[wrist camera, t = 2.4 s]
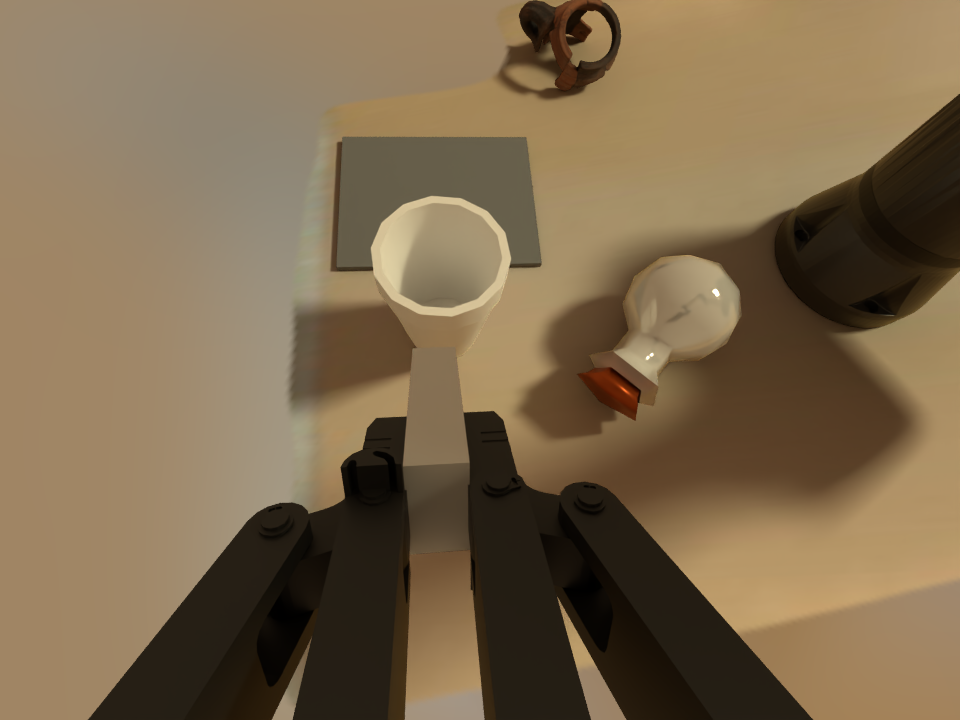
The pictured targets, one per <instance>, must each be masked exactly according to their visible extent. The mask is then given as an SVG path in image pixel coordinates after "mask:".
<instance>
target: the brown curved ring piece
mask: <svg viewBox="0 0 960 720" xmlns="http://www.w3.org/2000/svg"><path fill="white" fill-rule="evenodd" d="M595 10H596V11H598V12H600V13H601V14H602V15H603V16H604V17H605V19H606V21H607V22H608V23H609V25H610V28H611V32H612V43H611V47H610V50H609V52H608V53H607V55H606V56H605V57H604V58H602V59H601V60H599V61H596V62H585V61H580V63H579V66H578V67H576V66H575V65H573V64H572V63H571V62H570V58H571V57H572V52H571V50H570V48H569V46H568V44H567V41H566V35H565V34H569V35H572V36H574V37H576V38H578V39H579V40H580V41H582V42H584V41H585V39H586V38H587V36H588V35H589V34H590V33H591V32H592V28H591V27H590V26H588V25H587V24H586V23H585V22H584V21H583V20H582V19H581V17H582V16H583V15H584V14H585V13H586V12H587V11H595ZM519 18H520V23H521V27H522V29H523V31H524V32H525V34H526V35H527V36H528V37H529V38H530V39H531V41H532V43H533V46H534V49H535V52H539V49H540V46H541V43H542V40H543V44H544V45H545V44H546V43H547V42H548V41H549V40H551V45H552V49H553V52H554V55H555V58H556V61H557V63H558V65H559V66H560V68H561V70H563V71H562V73H561V75H560V77H559V78H557V79H556V80H555V86H557V87H558V88H559V89H561V90H563V91H566V90H570V89H571V87H572V86H573V87H575V88H578V87H581V86H585V85H588V84H590V83H593V82H595V81H597V80H598V79H600V78H602V77H603V76H604V75H605V71H606V70H609V69H610V68H611V66H612V64H613V62H614V60H615V57H616V55H617V53H618V49H619V46H620V41H621V29H620V23H619V20H618V17H617V15H616V14H615V12H614V11H613V10H612V8H611V7H610V6H609V5H607V4H606V3H603V2H602V1H601V0H571V1H567V2H565V3H564V4H562V5H560V6H558V7H556V8H555V7H552V6H550V5H548V4H547V3H545V2H542V1H537V0H534V1H529V2H527V3H526V4H525V5H524V6H523V8H522V9H521V11H520V13H519Z"/></svg>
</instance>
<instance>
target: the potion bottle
mask: <svg viewBox="0 0 960 720" xmlns="http://www.w3.org/2000/svg"><path fill="white" fill-rule="evenodd" d="M622 306H623V310H624V314H625V318H626V322H627V326H628V330H629V331H628V332H627V333H626V334H625V336H624V337H623V338H622V339H621V340H620V342H619V343H618V344H617V345H616V346H615V348H614V349H613V350H609V351H604V352H599V353H594V354H590V355H589V356H590V358H591V360H592V363H593V365H594V367H595V368H594V369H592V370H590V371H589V372H586V373H580V374H578V376H579V377H580V378H581V379H582V380H583V382H584V383H585V384H586V385H587V387H588V388H589V389H590V390H591V391H592V393H593V394H594V395H595V396H596V398H597V399H598V400H599V401H600V402H602V403H604V404H605V405H607V406H609V407H611V408H613V409H615V410H616V411H618V412H620V413H622V414H624V415H626V416H627V417H629V418H631V419H633V420H635V421H636V414H637V407H638V403H640V404H646V405H652V406H654V403H655V399H656V394H657V390H658V379H657V377H658V376H659V374H660V373H661V372H662V371H663V369H664V368H665V367H666V365H667V364H668V363H669V362H676V361H699V360H701V359H702V358H704V357H706V356H707V355H709V354H711V353H712V352H714V351H716V350H717V349H719V348H721V347H722V346H724V345H726V344H727V342H728V340H729V338H730V336H731V334H732V332H733V331H734V329H735V327H736V325H737V323H738V321H739V319H740V317H741V315H742V314H741V303H740V291H739V289H738V288H737V286H736V285H735V283H734V282H733V281H732V279H731V278H730V276H729V275H728V274H727V272H726V271H725V269H724V268H723V267H722V265H721V264H720V263H717V262H713V261H710V260H706V259H703V258H699V257H695V256H692V255H681V256H669V257H660V258H659V259H657V260H656V261H655V262H653V263H652V264H650V265H649V266H648V267H646V268H645V269H644V270H642V271H641V272H639V273H638V274H637V275H635V276H634V278H633V280H632V283H631V285H630V287H629V289H628V292H627V294H626V296H625V298H624V301H623V303H622Z"/></svg>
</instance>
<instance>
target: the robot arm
mask: <svg viewBox="0 0 960 720" xmlns="http://www.w3.org/2000/svg"><path fill="white" fill-rule="evenodd" d="M775 252H776V258H777V262H778V265H779V268H780V270H781V273H782V275H783V277H784V278H785V280H786V282H787V283H788V285H789V286H790V287H791V289H792V290H793V291H794V292H795V294H796V295H797V296H798V297H799V298H800V299H801V300H802V301H803V302H805V303H806V304H807V305H808V306H809V307H811V308H812V309H813V310H815V311H816V312H818V313H820V314H821V315H823V316H825V317H827V318H829V319H831V320H833V321H836V322H838V323H841V324H844V325H848V326H853V327H860V328H874V327H881V326H885V325H888V324H890V323H892V322H895V321H897V320H899V319H901V318H904V317H906V316H908V315H910V314H912V313H914V312H915V311H917V310H918V309H920V308H921V307H922V306H923V305H924V304H925V303H926V302H928V301H929V300H930V299H931V298H932V297H933V296H934V295H935V294H936V293H937V292H938V291H939V290H940V289H941V288H942V287H943V286H944V285H945V284H946V283H947V282H949V281H950V280H951V279H952V278H953V277H954V276H955V275H956V274H957V273H958V272H959V271H960V94H959V95H958V96H956V97H955V98H954V99H953V100H952V101H950V102H949V103H948V104H947V105H946V106H944V107H943V108H942V109H941V110H940V111H938V112H937V113H936V114H935V115H933V116H932V117H931V118H930V119H929V120H927V121H926V122H925V123H924V124H923V125H921V126H920V127H919V128H918V129H917V130H915V131H914V132H913V133H912V134H910V135H909V136H908V137H907V138H906V139H904V140H903V141H902V142H901V143H900V144H898V145H897V146H896V147H895V148H894V149H892V150H891V151H890V152H889V153H888V154H886V155H885V156H884V157H883V158H881V160H879V161H878V162H877V163H876V164H875V165H873V166H872V167H871V168H870V169H868V170H867V171H866V172H865V173H863V174H861V175H858V176H856V177H854V178H852V179H850V180H847V181H845V182H843V183H841V184H838V185H836V186H834V187H832V188H830V189H827V190H825V191H823V192H821V193H819V194H816V195H814V196H812V197H810V198H809V199H807V200H806V201H804V202H803V203H802V204H800V205H799V206H798V207H797V208H796V209H795V210H794V211H793V212H792V213H790V214H789V215H788V216H787V217H786V218H785V219H784V221H783V222H782V224H781V225H780V227H779V229H778V232H777V235H776V241H775ZM341 473H342V479H343V486H344V492H345V499H344V500H343V501H341V502H339V503H338V504H336V505H334V506H332V507H329V508H327V509H324V510H320V511H317V512H314V513H310V514H308V511H307V510H306V509H305V508H304V507H303V506H302V505H299V504H295V503H279V504H275V505H272V506H269V507H266V508H265V509H263V510H261V511H259V512H257V513H256V514H255V515H254V516H253V517H252V518H251V519H249V520H248V521H247V522H246V524H245V525H244V526H243V528H242V529H241V530H240V531H239V532H238V534H237V535H236V536H235V537H234V539H233V540H232V541H231V542H230V544H229V545H228V546H227V547H226V549H225V550H224V551H223V552H222V554H221V555H220V556H219V557H218V559H217V560H216V561H215V562H214V564H213V565H212V566H211V567H210V569H209V570H208V571H207V572H206V574H205V575H204V576H203V577H202V579H201V580H200V581H199V582H198V584H197V585H196V586H195V587H194V588H193V590H192V591H191V592H190V594H189V595H188V596H187V597H186V598H185V600H184V601H183V602H182V603H181V605H180V606H179V607H178V608H177V610H176V611H175V612H174V613H173V615H172V616H171V617H170V618H169V620H168V621H167V622H166V623H165V625H164V626H163V627H162V628H161V630H160V631H159V632H158V634H157V635H156V636H155V637H154V638H153V640H152V641H151V642H150V643H149V645H148V646H147V647H146V648H145V650H144V651H143V652H142V653H141V655H140V656H139V657H138V658H137V660H136V661H135V662H134V663H133V665H132V666H131V667H130V668H129V669H128V671H127V672H126V673H125V674H124V676H123V677H122V678H121V679H120V681H119V682H118V683H117V684H116V686H115V687H114V688H113V689H112V691H111V692H110V693H109V694H108V696H107V697H106V698H105V699H104V701H103V702H102V703H101V705H100V706H99V707H98V708H97V709H96V711H95V712H94V713H93V714H92V716H91V717H90V718H89V719H88V720H272V718H273V716H274V714H275V711H276V709H277V707H278V705H279V703H280V701H281V699H282V697H283V695H284V693H285V691H286V689H287V687H288V685H289V683H290V681H291V678H292V676H293V674H294V672H295V670H296V668H297V666H298V664H299V662H300V660H301V658H302V656H303V654H304V652H305V650H306V648H307V645H308V643H309V641H310V639H311V637H312V640H311V644H310V648H309V652H308V657H307V661H306V665H305V669H304V674H303V678H302V682H301V686H300V691H299V695H298V699H297V703H296V708H295V712H294V716H293V720H404V719H405V697H406V672H407V648H408V624H409V600H410V575H411V572H410V561H409V554H410V555H411V554H424V553H437V552H450V551H463V550H470V552H471V590H473V599H474V610H475V621H476V632H477V643H478V653H479V664H480V675H481V686H482V697H483V706H484V707H483V708H484V718H485V720H591V718H590V715H589V711H588V708H587V704H586V700H585V697H584V693H583V689H582V686H581V682H580V679H579V675H578V671H577V668H576V664H575V661H574V657H573V653H572V650H571V646H570V642H569V639H568V635H567V632H566V628H565V624H564V621H563V617H562V614H561V610H560V606H559V603H558V599H557V597H558V598H559V600H560V602H561V604H562V605H563V607H564V609H565V611H566V613H567V614H568V616H569V618H570V620H571V622H572V623H573V625H574V627H575V629H576V630H577V632H578V634H579V636H580V638H581V639H582V641H583V643H584V645H585V646H586V648H587V650H588V652H589V654H590V655H591V657H592V659H593V661H594V663H595V664H596V666H597V668H598V670H599V671H600V673H601V675H602V677H603V679H604V680H605V682H606V684H607V686H608V688H609V689H610V691H611V693H612V695H613V696H614V698H615V700H616V702H617V704H618V705H619V707H620V709H621V710H622V712H623V714H624V716H625V718H626V719H627V720H813V719H812V718H811V717H810V716H809V715H808V714H807V712H806V711H805V710H804V709H803V708H802V707H801V706H800V705H799V703H798V702H797V701H796V700H795V699H794V698H793V696H792V695H791V694H790V693H789V692H788V691H787V690H786V688H785V687H784V686H783V685H782V684H781V683H780V682H779V681H778V680H777V678H776V677H775V676H774V675H773V674H772V673H771V672H770V670H769V669H768V668H767V667H766V666H765V665H764V664H763V662H762V661H761V660H760V659H759V658H758V657H757V656H756V655H755V653H754V652H753V651H752V650H751V649H750V648H749V647H748V645H747V644H746V643H745V642H744V641H743V640H742V639H741V638H740V636H739V635H738V634H737V633H736V632H735V631H734V630H733V629H732V627H731V626H730V625H729V624H728V623H727V622H726V621H725V619H724V618H723V617H722V616H721V615H720V614H719V613H718V612H717V610H716V609H715V608H714V607H713V606H712V605H711V604H710V602H709V601H708V600H707V599H706V598H705V597H704V596H703V595H702V593H701V592H700V591H699V590H698V589H697V588H696V587H695V586H694V584H693V583H692V582H691V581H690V580H689V579H688V578H687V576H686V575H685V574H684V573H683V572H682V571H681V570H680V569H679V567H678V566H677V565H676V564H675V563H674V562H673V561H672V559H671V558H670V557H669V556H668V555H667V554H666V553H665V552H664V550H663V549H662V548H661V547H660V546H659V545H658V544H657V543H656V541H655V540H654V539H653V538H652V537H651V536H650V535H649V533H648V532H647V531H646V530H645V529H644V528H643V527H642V526H641V524H640V523H639V522H638V521H637V520H636V519H635V518H634V516H633V515H632V514H631V513H630V512H629V511H628V510H627V509H626V507H625V506H624V505H623V504H622V503H621V502H620V501H619V500H618V498H617V497H616V496H615V495H614V494H613V493H611V492H610V491H609V490H608V489H607V488H604V487H602V486H600V485H598V484H594V483H588V482H579V483H573V484H571V485H569V486H566V487H565V488H564V490H563V491H562V492H561V495H554V494H548V493H543V492H540V491H537V490H534V489H532V488H530V487H529V486H527V485H526V484H525V482H524V481H523V479H522V477H520V476H519V475H518V474H517V471H516V467H515V463H514V459H513V456H512V452H511V448H510V444H509V442H508V437H507V433H506V429H505V425H504V421H503V419H501V418H500V417H499V416H498V415H497V414H496V413H495V412H494V411H487V412H467V413H463V405H462V397H461V389H460V381H459V373H458V365H457V357H456V349H455V347H433V348H413V350H412V362H411V374H410V386H409V398H408V410H407V417H389V418H376V419H375V420H374V421H373V422H372V424H371V425H370V426H369V427H368V428H367V432H366V436H365V442H364V445H363V450H361V451H358V452H356V453H354V454H352V455H351V456H349V457H348V458H347V459H346V460H345V461H344V462H343V464H342V466H341Z"/></svg>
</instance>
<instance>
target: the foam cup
mask: <svg viewBox="0 0 960 720" xmlns="http://www.w3.org/2000/svg"><path fill="white" fill-rule="evenodd" d="M371 254H372V262H373V271H374V277H375V280H376V284H377V287H378V290H379V293H380V294H381V295H382V297H383V298H384V300H385V301H386V302H387V304H388V305H389V307H390V308H391V309H392V311H393V312H394V314H395V315H396V316H397V317H398V319H399V321H400V322H401V324H402V326H403V327H404V329H405V331H406V332H407V334H408V336H409V337H410V339H411V340H412V342H413V343H414V345H415V346H416V347H417V348H433V347H455V349H456V357H459V356H462V355H464V353H465V352H466V351H467V350H468V349H469V348H470V347H471V346H472V345H473V343H474V342H475V340H476V339H477V337H478V335H479V333H480V331H481V329H482V327H483V325H484V324H485V322H486V320H487V318H488V316H489V314H490V312H491V310H492V309H493V307H494V306H495V305H496V304H497V303H498V302H499V301H500V298H501V295H502V292H503V288H504V285H505V281H506V278H507V274H508V270H509V266H510V262H511V255H510V251H509V247H508V242H507V238H506V234H505V232H504V230H503V229H502V228H501V227H500V226H499V224H498V223H497V222H496V221H495V220H494V218H493V217H492V216H491V215H490V214H489V212H488V211H486V210H484V209H482V208H480V207H478V206H476V205H474V204H472V203H470V202H468V201H466V200H464V199H462V198H452V197H440V196H429V197H426V198H423V199H419V200H416V201H413V202H409V203H406V204H403V205H402V206H401V207H400V208H398V209H397V210H396V211H395V212H394V213H392V214H391V215H390V216H389V217H388V218H386V219H385V220H384V221H383V222H382V223H381V225H380V227H379V230H378V232H377V234H376V237H375V239H374V242H373V244H372V246H371Z"/></svg>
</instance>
